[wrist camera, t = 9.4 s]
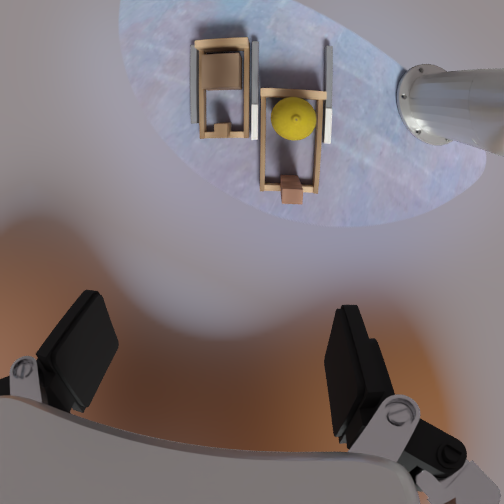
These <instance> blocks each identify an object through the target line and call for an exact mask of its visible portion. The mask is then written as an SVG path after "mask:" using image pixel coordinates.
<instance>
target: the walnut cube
mask: <svg viewBox="0 0 504 504" xmlns="http://www.w3.org/2000/svg"><path fill="white" fill-rule="evenodd" d="M202 89H205V90H209V91H211V90H242V58H241V56H240V54H239V53H225V54H209V55H202Z"/></svg>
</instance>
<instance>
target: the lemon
mask: <svg viewBox="0 0 504 504" xmlns="http://www.w3.org/2000/svg"><path fill="white" fill-rule="evenodd" d="M316 122H317V120H316V113H315V110H314V109H313V107H312V106H311V105H310V104H309V103H308V102H307V101H305V100H304V99H301V98H298V97H288V98H284V99H282V100H280V101H279V102H278V103H277V104H276V105H275V106H274V108H273V110H272V113H271V123H272V126H273V128H274V130H275V131H276V132H277V133H278V134H279V135H280V136H281V137H283V138H285V139H288V140H301V139H304V138H306V137H307V136H309V135H310V134H311V133H312V132H313V130H314V128H315V126H316Z"/></svg>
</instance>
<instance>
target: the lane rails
mask: <svg viewBox="0 0 504 504" xmlns="http://www.w3.org/2000/svg"><path fill="white" fill-rule="evenodd" d="M332 79H333V46H326V47H325V79H324V92H327V99H326V100H324V116H323V138H322V142H323V143H328V144H330V143H331V125H332ZM258 100H259V42H258V41H252V105H251V140H258Z"/></svg>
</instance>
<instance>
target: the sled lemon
mask: <svg viewBox="0 0 504 504" xmlns="http://www.w3.org/2000/svg"><path fill="white" fill-rule="evenodd" d="M266 97H272V98H288V97H298V98H301V99H310V100H317V108H316V120H317V122H316V134H315V154H314V171H313V185H306V184H301V183H300V180H299V178H298V176H296V175H281V178H280V183H265V138H266ZM326 99H327V92H323V91H313V90H299V89H280V88H261V153H260V191H264V190H265V191H281V199H282V203H283V204H302V200H303V192H312V193H316V194H318V186H319V173H320V158H321V140H322V119H323V100H326Z"/></svg>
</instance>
